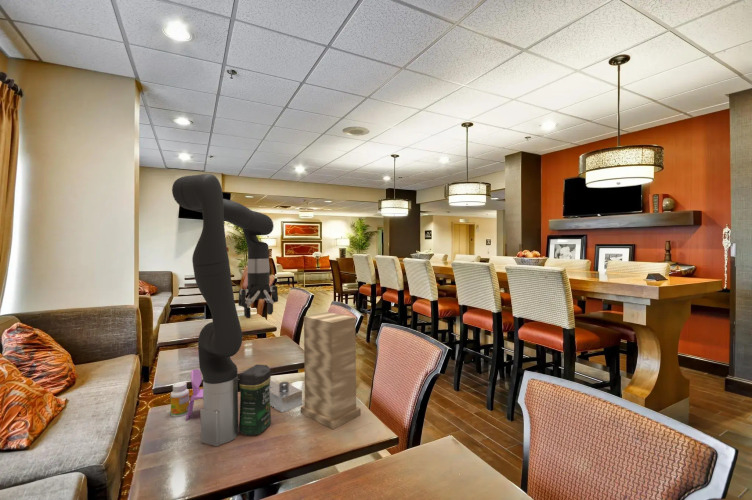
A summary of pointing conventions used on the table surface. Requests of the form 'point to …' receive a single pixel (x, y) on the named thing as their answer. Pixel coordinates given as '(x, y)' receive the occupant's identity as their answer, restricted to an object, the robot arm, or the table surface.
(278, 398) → the lever cap
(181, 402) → the supplement bottle
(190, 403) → the toy chair
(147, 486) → the table surface
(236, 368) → the robot arm
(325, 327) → the oak pedestal
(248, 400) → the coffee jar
